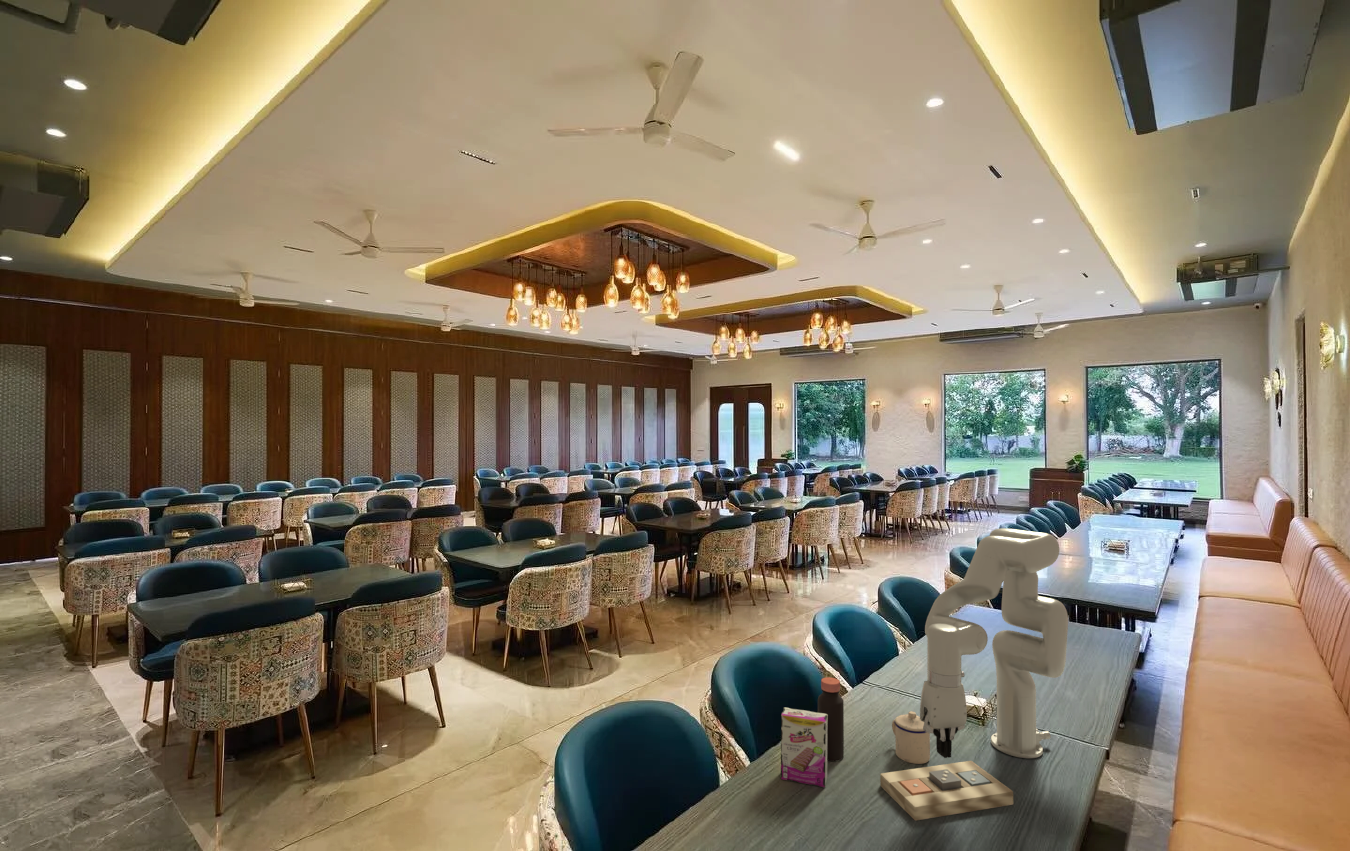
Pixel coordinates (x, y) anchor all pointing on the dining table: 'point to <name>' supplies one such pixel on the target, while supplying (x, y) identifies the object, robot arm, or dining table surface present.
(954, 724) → the robot arm
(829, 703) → the bottle
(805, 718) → the candy bar box
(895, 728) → the teacup with lid
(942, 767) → the wooden puzzle board
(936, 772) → the key three
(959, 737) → the dining table surface
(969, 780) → the key two
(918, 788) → the key one
